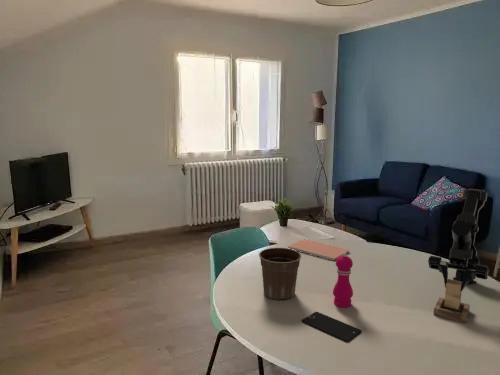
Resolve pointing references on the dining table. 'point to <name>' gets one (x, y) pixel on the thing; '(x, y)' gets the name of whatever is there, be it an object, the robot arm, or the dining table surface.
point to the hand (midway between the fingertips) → (453, 289)
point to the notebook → (318, 249)
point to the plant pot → (279, 272)
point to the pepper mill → (343, 281)
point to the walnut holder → (451, 314)
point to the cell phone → (332, 326)
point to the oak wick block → (453, 294)
